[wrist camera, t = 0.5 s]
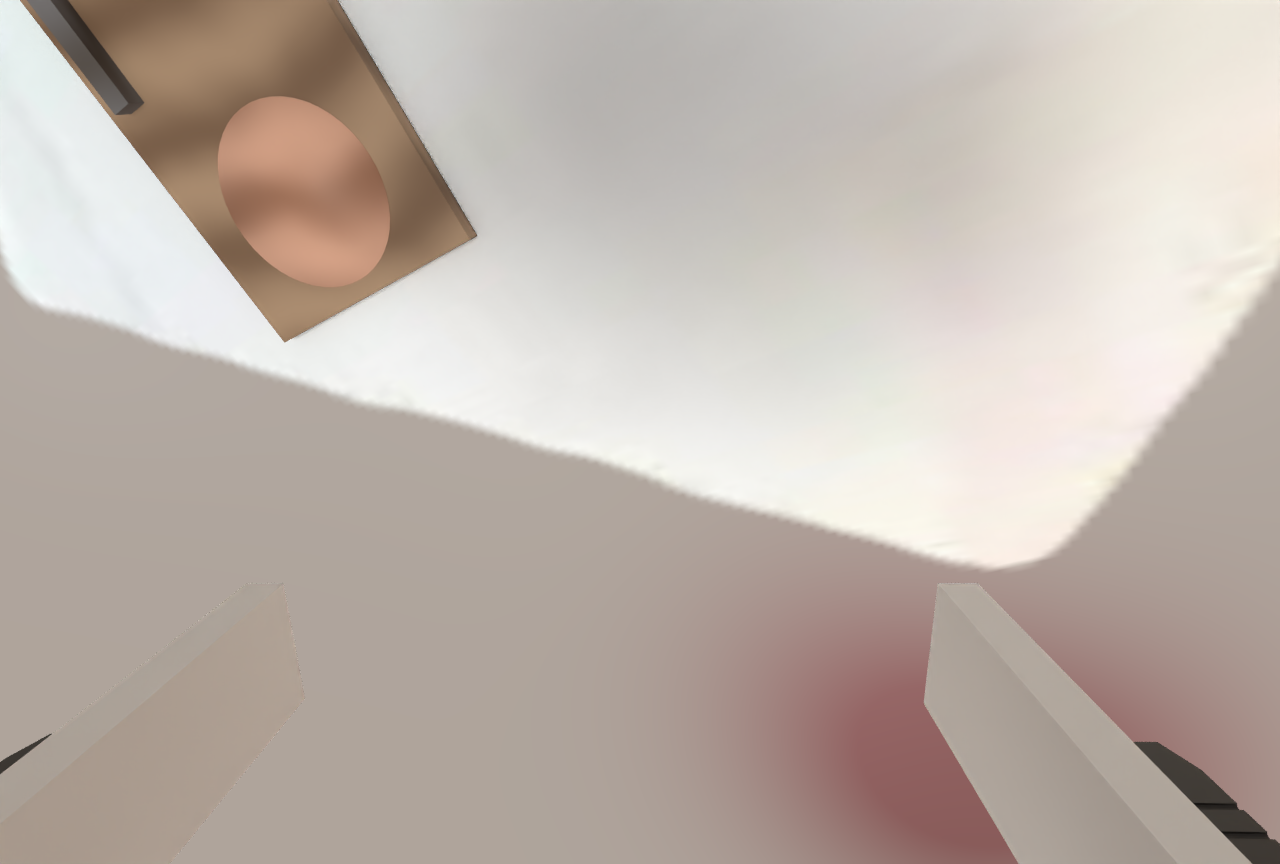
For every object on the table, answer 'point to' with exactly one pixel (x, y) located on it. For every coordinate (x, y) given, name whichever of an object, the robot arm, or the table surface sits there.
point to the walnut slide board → (268, 142)
